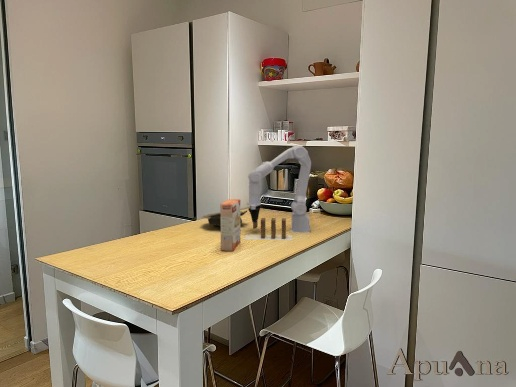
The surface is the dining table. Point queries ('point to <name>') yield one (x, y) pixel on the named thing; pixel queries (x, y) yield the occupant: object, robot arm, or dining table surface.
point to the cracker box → (230, 224)
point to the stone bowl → (218, 218)
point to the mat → (267, 237)
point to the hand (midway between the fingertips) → (255, 220)
